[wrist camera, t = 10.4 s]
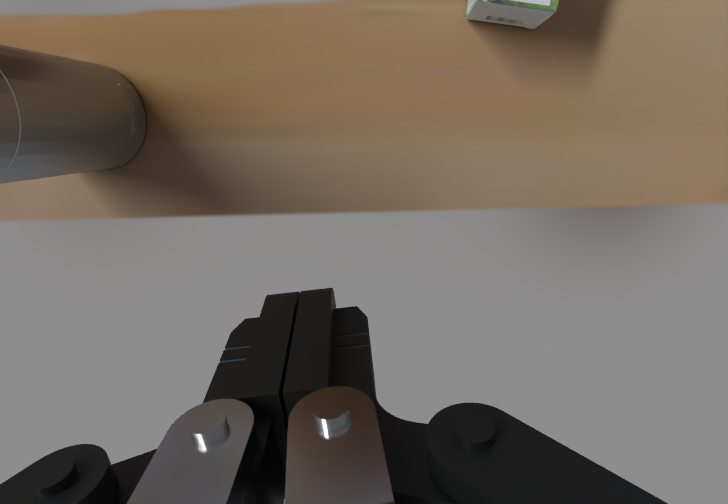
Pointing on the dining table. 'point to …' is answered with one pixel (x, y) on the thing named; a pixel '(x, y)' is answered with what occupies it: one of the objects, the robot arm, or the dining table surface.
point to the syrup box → (512, 11)
